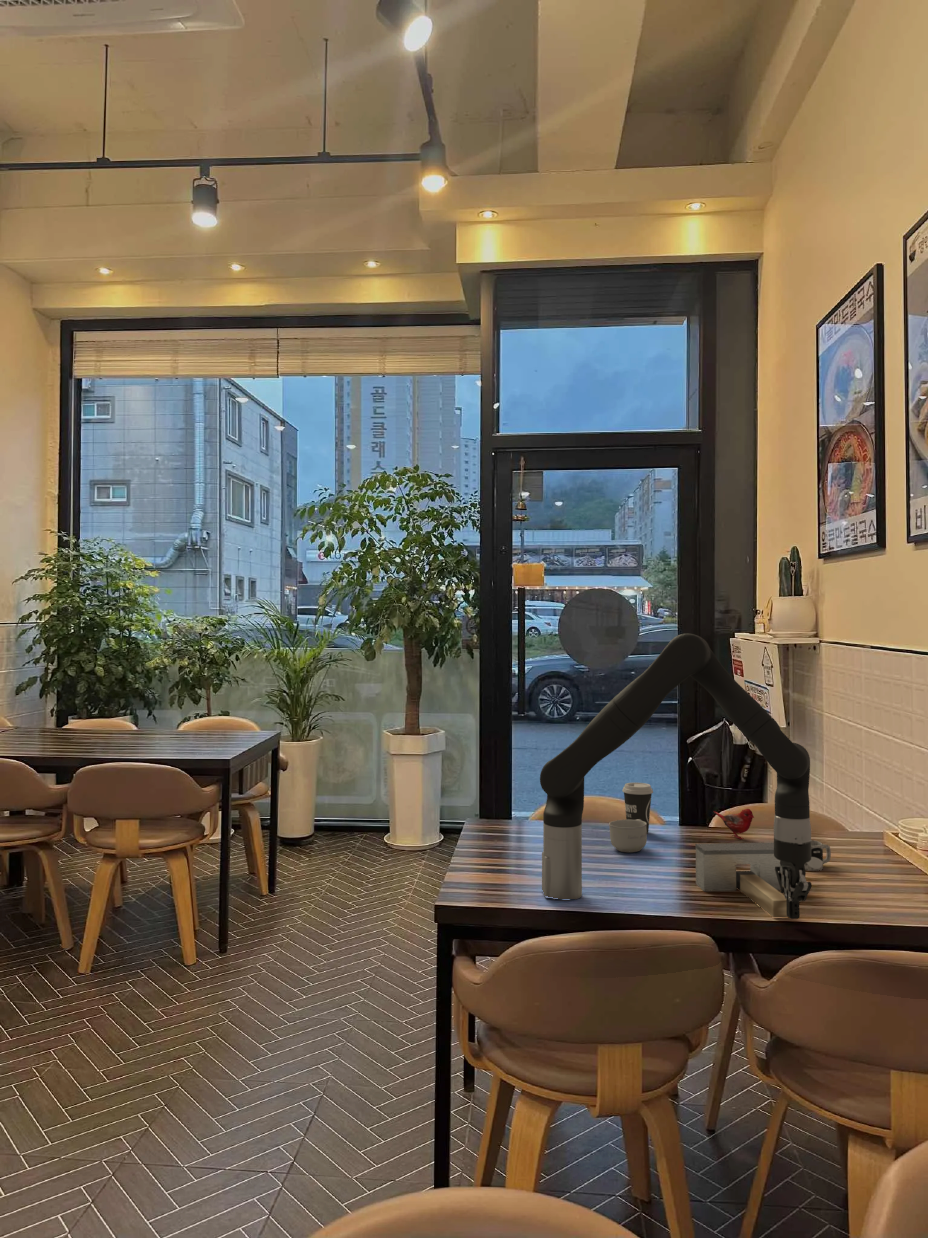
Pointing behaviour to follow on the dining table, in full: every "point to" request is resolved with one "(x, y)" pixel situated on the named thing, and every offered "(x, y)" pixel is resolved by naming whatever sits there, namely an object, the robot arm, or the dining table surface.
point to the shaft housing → (733, 864)
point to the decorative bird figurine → (738, 821)
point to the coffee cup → (638, 801)
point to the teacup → (628, 835)
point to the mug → (817, 856)
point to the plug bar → (761, 893)
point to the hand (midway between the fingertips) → (793, 917)
